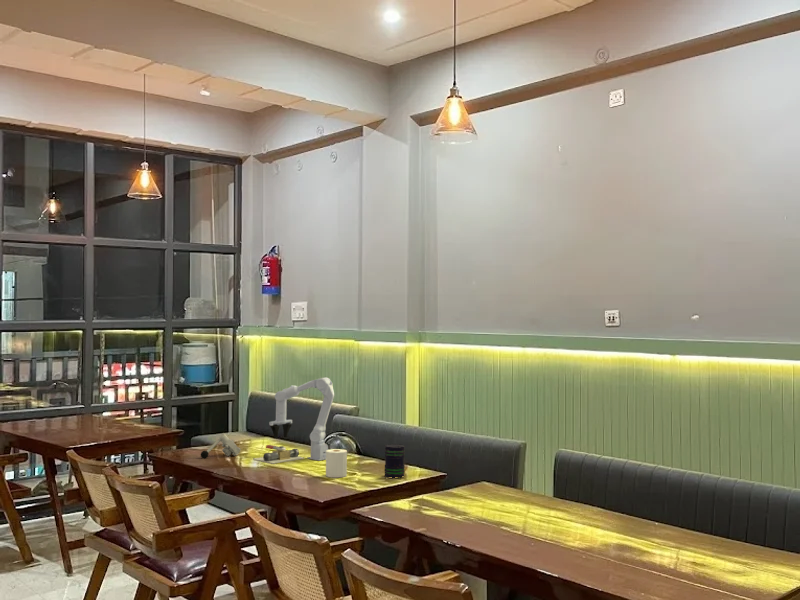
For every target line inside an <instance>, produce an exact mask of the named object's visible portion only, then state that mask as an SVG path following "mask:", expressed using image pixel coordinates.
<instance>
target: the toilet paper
mask: <svg viewBox="0 0 800 600" xmlns="http://www.w3.org/2000/svg"><path fill="white" fill-rule="evenodd" d="M347 462H348V451H347V449H343V448H342V449H341V448H340V449H339V448H333V449H328V450H326V459H325V477H328V478H345V477H347V475H348V471H347V469H348V468H347V467H348V463H347Z"/></svg>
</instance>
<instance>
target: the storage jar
mask: <svg viewBox="0 0 800 600" xmlns="http://www.w3.org/2000/svg"><path fill="white" fill-rule="evenodd" d="M405 447H406V445H404V444H401V443H388V444H385V445H384V457H385V459H384V460H385V462H384V469H383V470H384V477H385V476H386V477H392V478H391V479H393V478H395V477H402V476H404V477H405V468H406V467H405V457H406V449H405ZM386 477H385V478H386Z"/></svg>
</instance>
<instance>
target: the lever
mask: <svg viewBox="0 0 800 600" xmlns="http://www.w3.org/2000/svg"><path fill="white" fill-rule="evenodd" d="M265 446H266V447H265V448H266V449H269V450H273V451H275V450H277V451H285V450H287V447H285V446H283V445H282V446H279V445H278V446H277V445H272V444H266V445H265Z"/></svg>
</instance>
